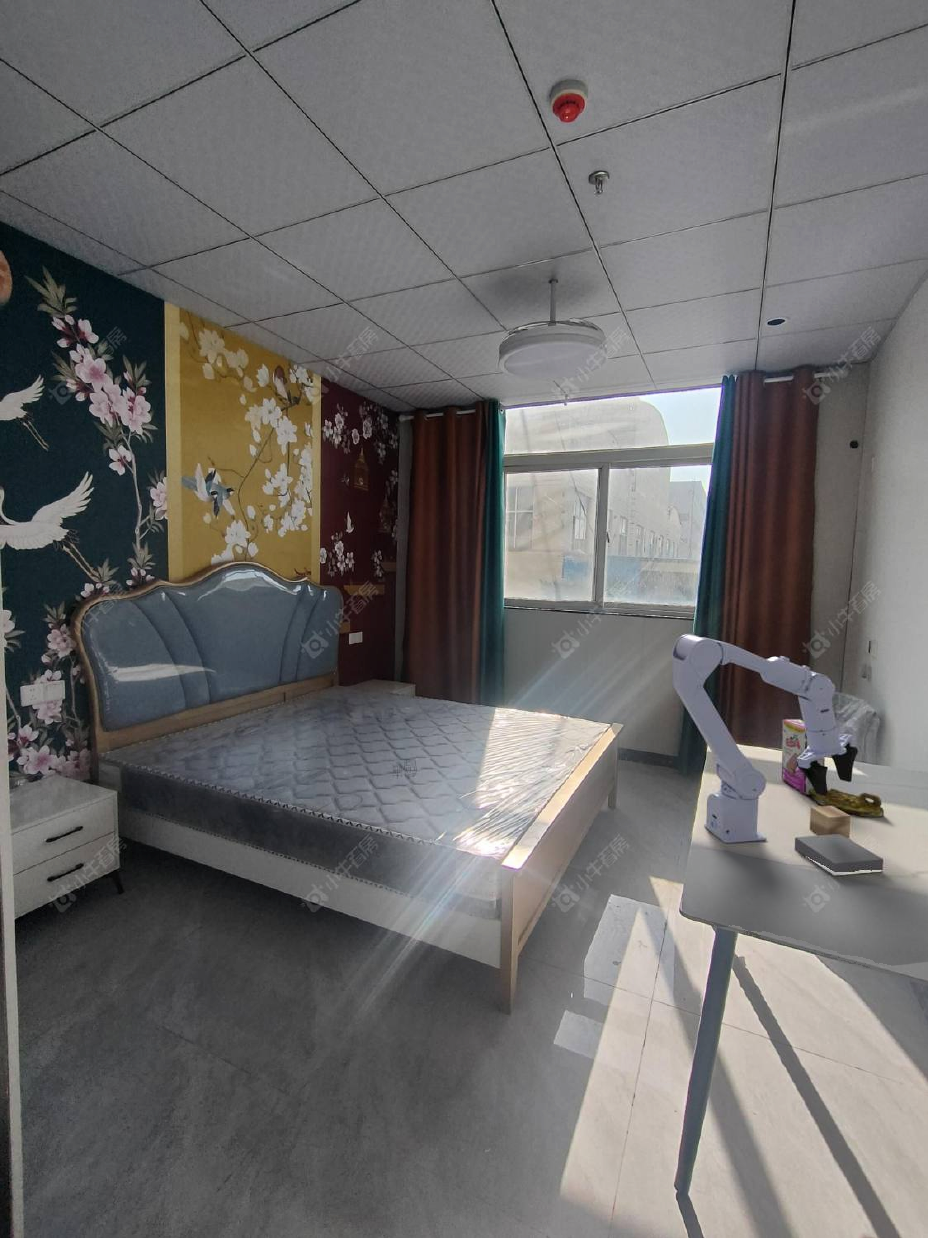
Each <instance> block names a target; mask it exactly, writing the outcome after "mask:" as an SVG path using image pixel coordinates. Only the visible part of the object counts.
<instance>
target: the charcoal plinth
mask: <svg viewBox="0 0 928 1238" xmlns="http://www.w3.org/2000/svg"><path fill="white" fill-rule="evenodd" d="M794 851H796V852H797V853H799V852H800V853H799V854H801V855H802V854H803V855H802V856H803V857H805V856H807V857H809V858H810V859H812V860H814V861H816V862H818V863H820V864H821V865H824V866H826V867H827V868H829V869H830V870H832V871H834V872H855V871H859V870H871V871H872V870H884V859H883V858H882V857H880V856H879V855H877V854H875V853H873V852H872V851H870V850H868V849H867V848H866V847H863V846H861V845H860V844H859V843H856V842H855V841H853V840H851V839H850V838H849V839H848V838H846V837H845V836H843V835H841V834H833V835H810V836H807V835H806V836H796V837H795V838H794Z"/></svg>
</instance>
